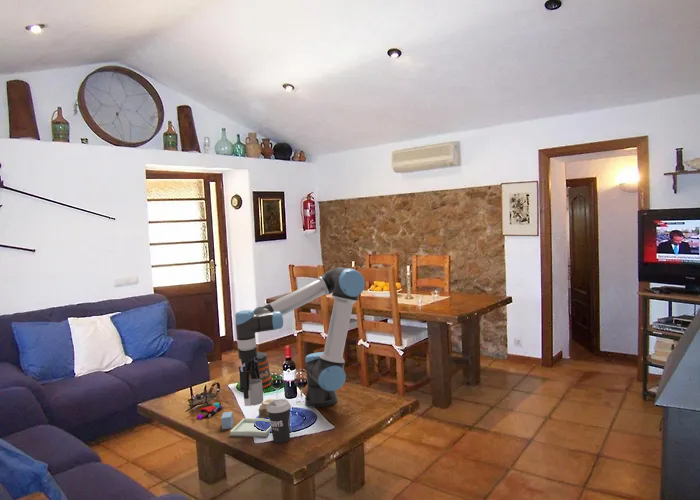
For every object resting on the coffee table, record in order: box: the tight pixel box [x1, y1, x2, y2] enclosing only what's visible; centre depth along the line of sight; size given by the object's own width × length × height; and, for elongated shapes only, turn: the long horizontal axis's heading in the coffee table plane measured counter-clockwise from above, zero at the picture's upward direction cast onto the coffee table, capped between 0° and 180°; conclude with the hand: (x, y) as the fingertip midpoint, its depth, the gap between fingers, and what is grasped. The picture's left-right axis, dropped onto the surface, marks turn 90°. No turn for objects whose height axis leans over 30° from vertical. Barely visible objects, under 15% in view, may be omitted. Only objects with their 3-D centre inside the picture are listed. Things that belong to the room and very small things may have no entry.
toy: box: [196, 402, 226, 421], centre depth 231 cm, size 8×4×15 cm
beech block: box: [261, 397, 277, 405], centre depth 230 cm, size 6×4×4 cm, turn 151°
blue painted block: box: [220, 411, 234, 430], centre depth 215 cm, size 4×6×5 cm, turn 7°
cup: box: [249, 379, 264, 406], centre depth 208 cm, size 7×10×9 cm
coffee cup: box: [267, 398, 292, 444], centre depth 197 cm, size 10×10×15 cm
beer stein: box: [240, 351, 273, 390], centre depth 264 cm, size 19×15×20 cm
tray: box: [229, 417, 271, 438], centre depth 209 cm, size 16×13×2 cm
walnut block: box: [258, 404, 269, 418], centre depth 221 cm, size 5×5×5 cm
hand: (252, 401), depth 208 cm, fingers closed on cup, 7 cm apart
